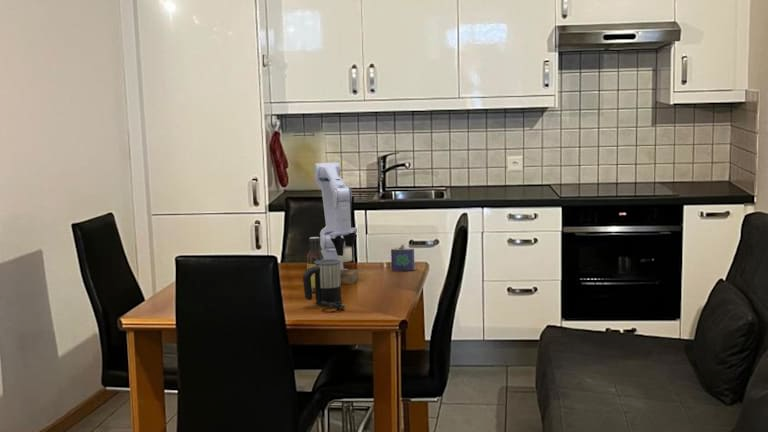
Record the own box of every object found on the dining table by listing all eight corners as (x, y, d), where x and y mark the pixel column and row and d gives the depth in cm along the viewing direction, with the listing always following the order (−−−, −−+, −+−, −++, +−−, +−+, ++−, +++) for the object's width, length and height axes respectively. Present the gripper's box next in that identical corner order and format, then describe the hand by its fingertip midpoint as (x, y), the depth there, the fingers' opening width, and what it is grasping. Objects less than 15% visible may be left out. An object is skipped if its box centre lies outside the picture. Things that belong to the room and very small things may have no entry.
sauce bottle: (322, 293, 332) (320, 239, 329) (306, 292, 333) (303, 239, 330) (327, 289, 338) (324, 236, 335) (311, 288, 339) (308, 236, 336)
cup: (336, 261, 349) (335, 247, 348) (344, 258, 353) (343, 245, 352) (347, 262, 346) (346, 248, 345) (354, 259, 350) (354, 246, 349)
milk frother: (328, 299, 323) (326, 257, 321) (362, 304, 313) (360, 262, 311) (300, 307, 312) (298, 264, 310) (334, 313, 302) (332, 269, 300)
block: (331, 284, 348) (331, 273, 347) (338, 279, 355) (338, 269, 355) (351, 284, 346) (351, 274, 345) (358, 279, 353) (357, 269, 353)
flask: (414, 269, 367) (413, 243, 365) (414, 271, 364) (413, 244, 363) (391, 270, 368) (390, 244, 366) (391, 271, 365) (390, 245, 363)
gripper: (339, 222, 339) (341, 258, 341) (363, 217, 351) (364, 251, 353) (324, 221, 343) (326, 256, 345) (348, 215, 355) (349, 250, 357)
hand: (344, 254), depth 349 cm, fingers closed on cup, 5 cm apart
